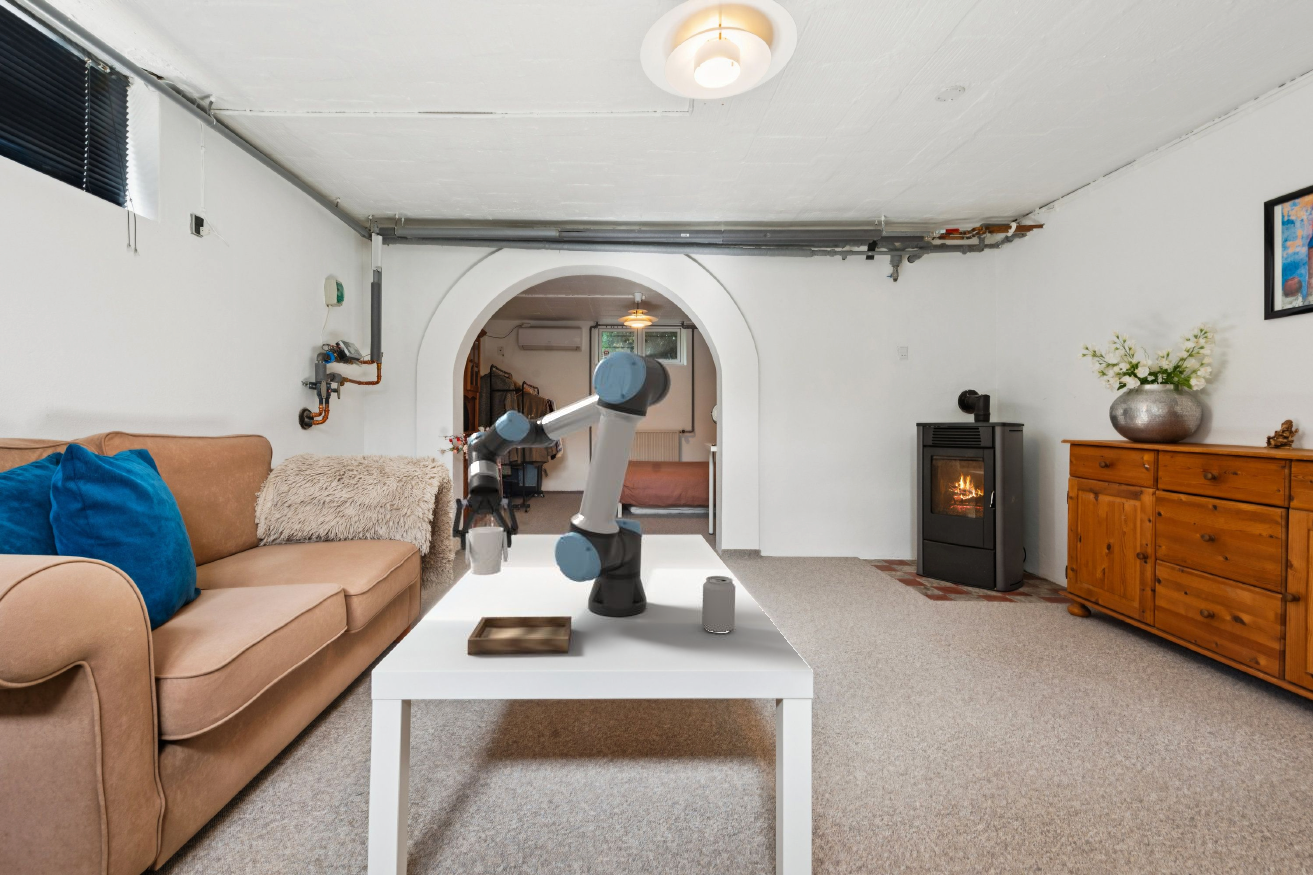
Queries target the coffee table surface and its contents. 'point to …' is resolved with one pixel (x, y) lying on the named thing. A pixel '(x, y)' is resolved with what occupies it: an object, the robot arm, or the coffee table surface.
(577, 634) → the coffee table surface
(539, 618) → the walnut tray
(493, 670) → the coffee table surface
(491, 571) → the white cup
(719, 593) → the can
